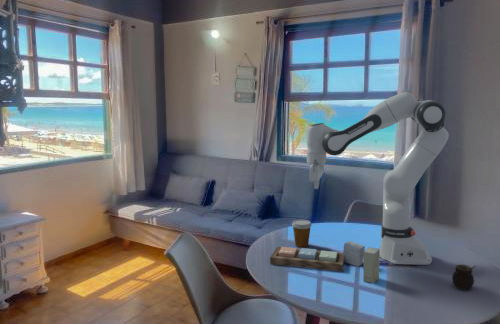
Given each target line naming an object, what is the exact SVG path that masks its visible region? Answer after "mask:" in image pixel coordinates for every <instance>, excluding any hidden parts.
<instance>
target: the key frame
mask: <svg viewBox="0 0 500 324" xmlns="http://www.w3.org/2000/svg"><path fill="white" fill-rule="evenodd" d="M281 247H282V246H277V247H275V249H274V251H273V253H272V254H271V255H270V257H269V260H270V261H269V264H270V265H277V266H278V265H280V266H288V267H298V268H306V269H315V270H316V269H317V270H325V271H333V272H343V270H344V265H345V264H344V263H345V262H344V256H343V252H337V251H336V252H337V261H336V262H330V261H320V260H319V255H320V253H321V251H322V250H317V256H316V259H315V260H310V259H300V258H298V254H299V252H300V249H301V248H297V255H296V257H295V258H290V257H280V256H278V252H279V251H280V249H281Z"/></svg>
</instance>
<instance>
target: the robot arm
mask: <svg viewBox="0 0 500 324" xmlns="http://www.w3.org/2000/svg"><path fill="white" fill-rule="evenodd" d="M407 118H409V119H412V121H413V122H414V123H416V124H417V125H419V126H420V127H421V129H420V130H421V131H420V133H419V134H418V136H417V137H416V138H415V140H414V141H413V142H412V143H411V144H410V146H409V147H408V149H406V151H405V152H404V154H403V155H402V156H401V158H400V160H398V162H397V164H396V165H395V168H394V169H391V170H389V171H387V172H386V173H385V175H384V176H383V185H382V189H383V190H382V195H383V196H382V198H383V199H382V224H381V227H380V236H381V240H380V244H379V245H380V246H379V249H380V253H379V258H381V259H383V260H385V261H388V262H390V263H391V264H394V265H417V266H419V265H420V266H421V265H422V266H426V265H427V266H428V265H431V264H432V262H433V258H432V255H430V253H428V252H427V247H426V246H425V244H424V242H423V241H421V240H420V239H419V238H418V237H416V236H415V235H416V231H415V230H414V228H413V227H412V226H410V195H411V193H412V191H413V190H414V188H415V187H416V185H417V184H418V182H419V181H420V179H421V177H423V175H424V173H425V172H426V170H427V169H428V168H429V167H430V165H431V164H432V163H433V162H434V160H435V159H436V158H437V156H438V155H439V154H440V153H441V151H442V150H443V148H444V147H445V146H446V144H447V141H448V140H449V137H450V134H449V131H448V130H447V129H446V128H445V127H444V126H445V119H446V109H445V107H444V106H443V105H442V103H440V102H438V101H435V100H431V99H427V100H422V99H421V100H417V99H416V97H415V96H414V95H413V94H412V93H410V92H408V91H405V92H404V91H403V92H400V93H398V94H395V95H393V96H390V97H388V98H386V99H385V100H381V102H379V103H378V104H376V105H374V107H371V109H370V110H369V111H368V112H367V114H366V115H365V116H364V117H363V118H362V119H360V120H359V121H358V122H356V123H354V124H351V126H349V127H346V128H345V129H343V130H338V129H335V128H332V127H330V126H328V125H327V124H325V123H324V122H318V123H314V124H311V125H310V126H308V128H307V130H306V145H307V149H306V163H307V164H309V182H310V183H313V189H315V190H318V189H319V187H320V179H321V177H322V176H324V175H323V174H324V170H325V169H324V167H325V164H326V163H327V154H328V155H331V156H339V155H341V154H342V153H343V152H345V150H346V149H347V148H348V146H349V145H350V144H352V143H353V142H355V141H358V140H359V139H362V138H363V137H365V136H366V135H368V134H370V133H374V132H376V131H380V130H384V129H386V128H389V127H391V126H393V125H395V124H397V123H399V122H401V121H402V120H405V119H407Z"/></svg>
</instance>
